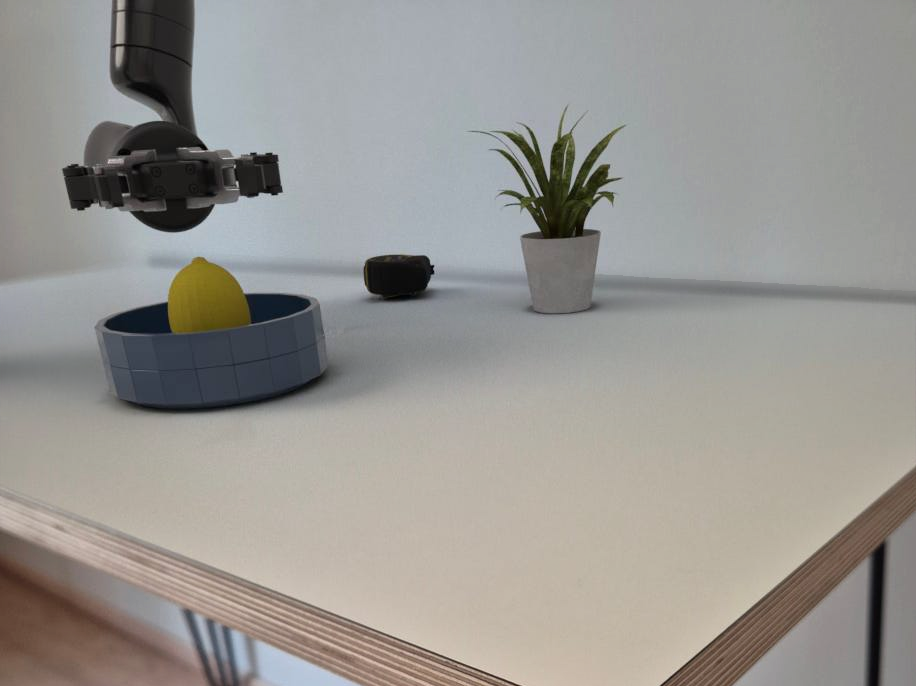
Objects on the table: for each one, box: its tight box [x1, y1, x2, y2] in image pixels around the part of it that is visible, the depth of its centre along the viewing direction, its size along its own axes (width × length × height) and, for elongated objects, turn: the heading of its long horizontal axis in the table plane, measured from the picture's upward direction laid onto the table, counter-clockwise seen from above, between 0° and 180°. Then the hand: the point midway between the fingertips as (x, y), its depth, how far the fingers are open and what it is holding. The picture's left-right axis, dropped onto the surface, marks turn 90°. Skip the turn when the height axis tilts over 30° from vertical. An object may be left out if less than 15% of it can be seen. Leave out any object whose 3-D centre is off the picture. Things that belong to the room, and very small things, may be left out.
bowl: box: [94, 292, 329, 410], centre depth 68 cm, size 15×15×5 cm
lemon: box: [167, 256, 251, 333], centre depth 67 cm, size 6×6×8 cm
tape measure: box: [363, 253, 435, 300], centre depth 98 cm, size 7×7×4 cm
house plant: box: [468, 101, 629, 314], centre depth 83 cm, size 14×14×16 cm
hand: (184, 183), depth 62 cm, fingers open, 8 cm apart
